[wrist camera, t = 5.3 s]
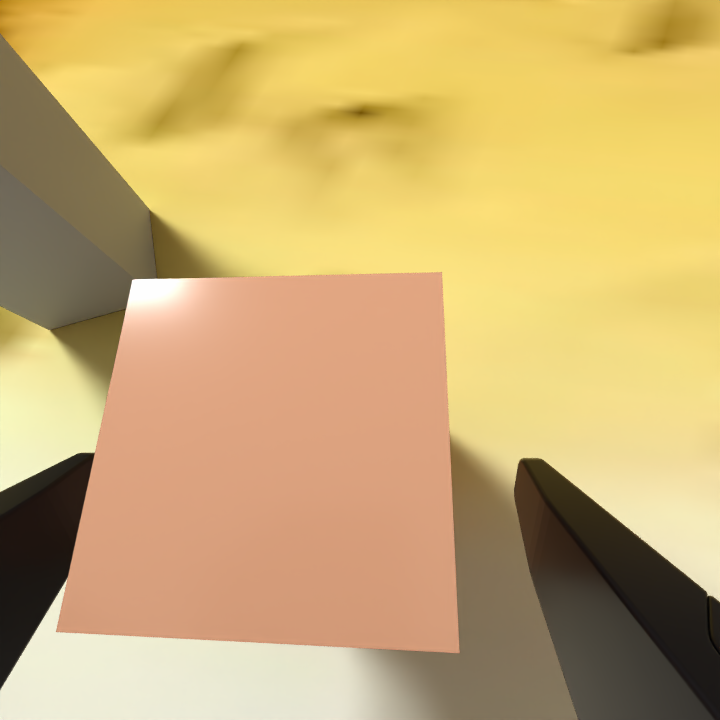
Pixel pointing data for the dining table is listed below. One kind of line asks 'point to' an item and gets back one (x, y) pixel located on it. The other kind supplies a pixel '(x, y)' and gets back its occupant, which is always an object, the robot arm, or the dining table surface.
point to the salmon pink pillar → (274, 467)
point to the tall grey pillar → (62, 211)
